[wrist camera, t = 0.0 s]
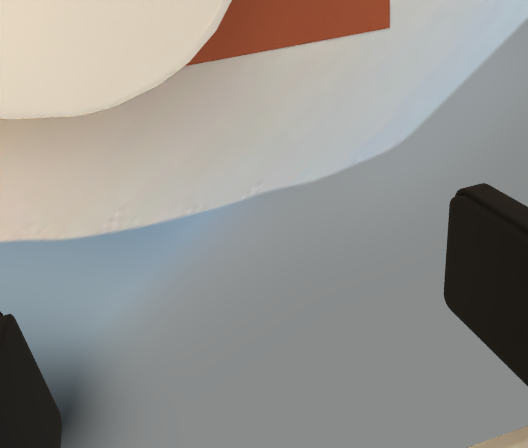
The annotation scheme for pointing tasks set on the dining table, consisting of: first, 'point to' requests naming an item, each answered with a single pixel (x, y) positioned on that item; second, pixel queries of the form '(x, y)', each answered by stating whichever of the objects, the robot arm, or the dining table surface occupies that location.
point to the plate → (95, 51)
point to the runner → (289, 24)
